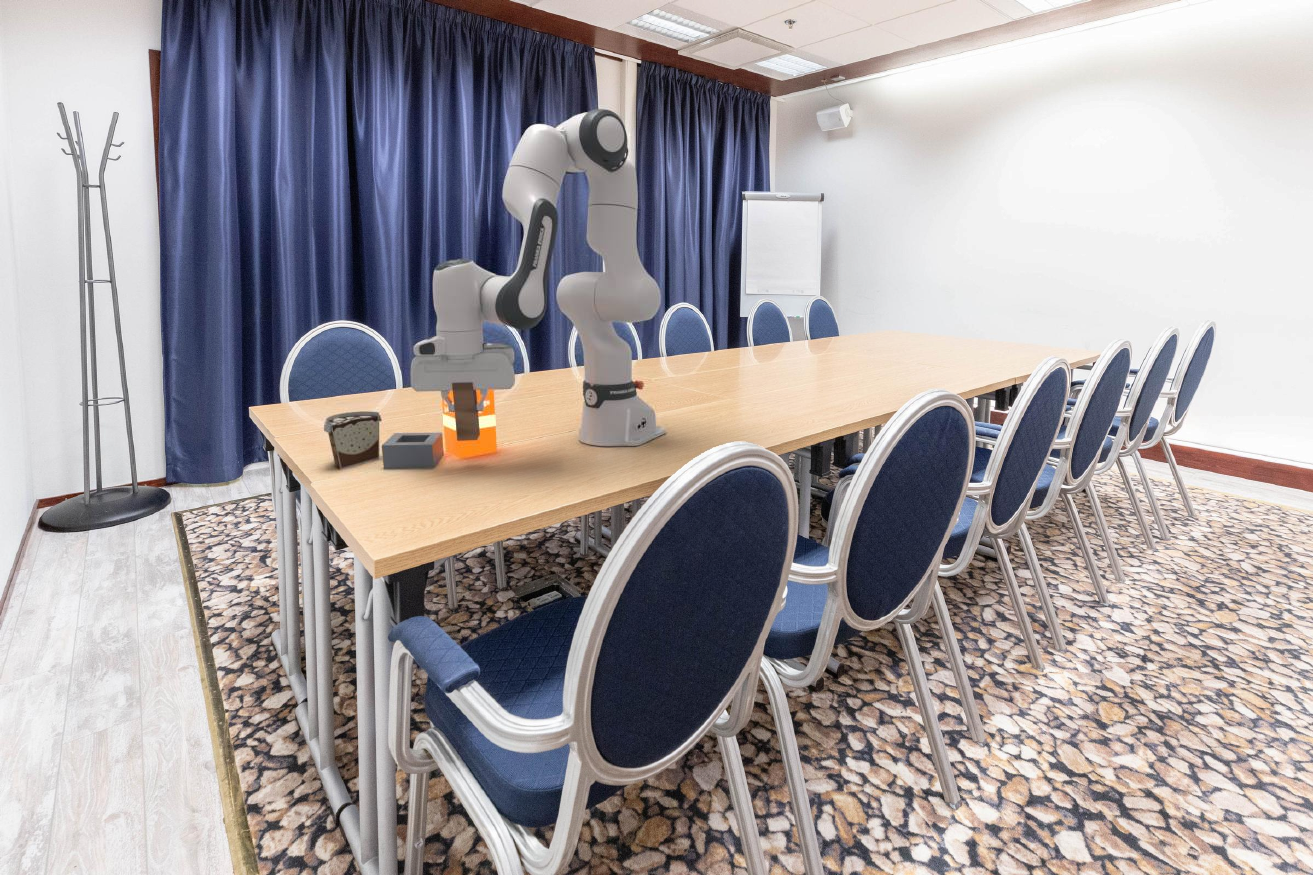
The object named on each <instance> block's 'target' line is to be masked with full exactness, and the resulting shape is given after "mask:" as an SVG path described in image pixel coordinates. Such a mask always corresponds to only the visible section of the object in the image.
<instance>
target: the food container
mask: <svg viewBox="0 0 1313 875" xmlns="http://www.w3.org/2000/svg"><path fill="white" fill-rule="evenodd" d="M382 421H383V420H382V417H381V414H380V412H378V411H370V410H369V411H368V410H367V411H350V412H349V411H348V412H343V413H336V414H333V415H330V416H328V417H326V418H325V422H324V426H323V431H324V432H325V433H327V434H328V437H329V439H328V440H329V442H330V447H331V448H330V449H331V452H332V457H333V461H334V465H335V468H336V469H338V470H344V469H347V468H352V467H354V466H355V467H356V466H358V465H362V464H365V463H368V462H372V461H375V460H379V459H380V422H382Z"/></svg>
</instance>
